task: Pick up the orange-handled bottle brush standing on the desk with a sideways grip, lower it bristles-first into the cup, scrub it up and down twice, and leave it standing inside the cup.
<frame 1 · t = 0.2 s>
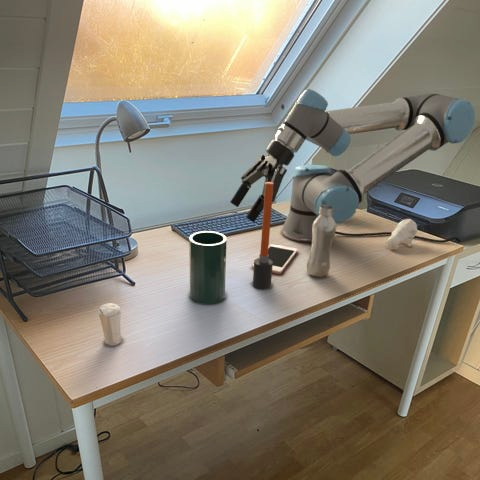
hand: (241, 212, 136), 15 cm above the table, tool tilted 35°, fingers open, 13 cm apart
brush: (261, 284, 130), on the table
white animal figurine: (397, 247, 158), on the table
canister: (322, 216, 180), on the table
plastic bottle: (317, 275, 137), on the table
cup: (207, 295, 124), on the table
milkshake: (112, 343, 104), on the table
cell phone: (275, 260, 145), on the table
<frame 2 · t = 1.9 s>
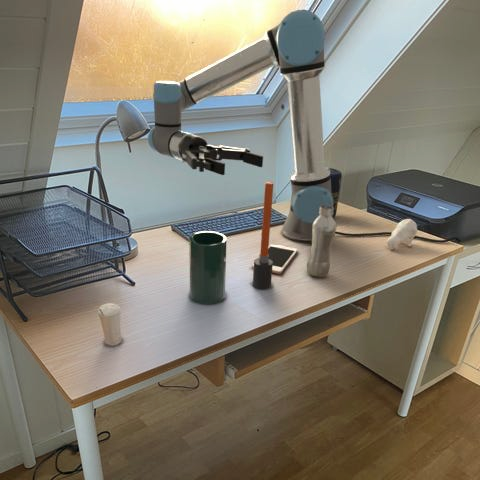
hand: (243, 165, 120), 30 cm above the table, tool horizontal, fingers open, 13 cm apart
nothing on the table moved.
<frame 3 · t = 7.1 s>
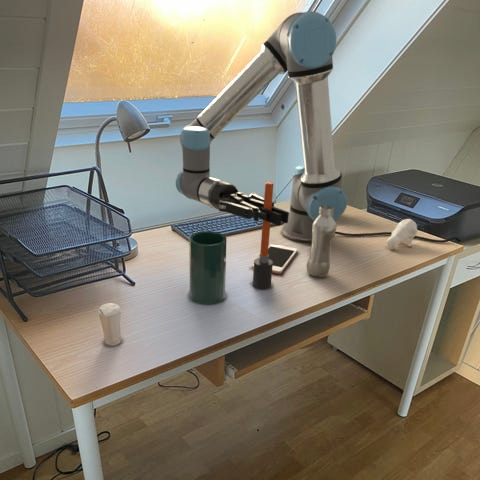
hand: (283, 218, 116), 20 cm above the table, tool horizontal, fingers closed on brush, 2 cm apart
brush: (261, 284, 130), on the table, touching gripper
everything else where it was.
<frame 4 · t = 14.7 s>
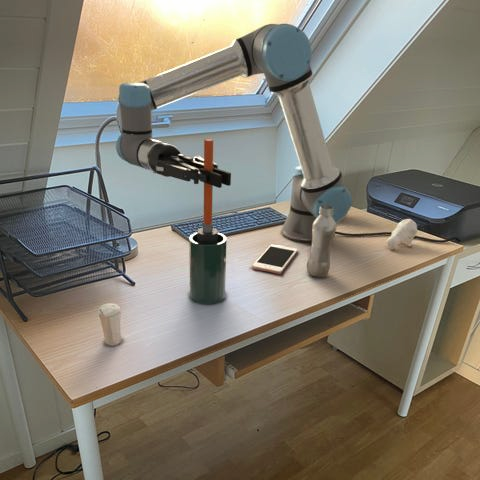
hand: (224, 180, 104), 31 cm above the table, tool horizontal, fingers closed on brush, 2 cm apart
brush: (207, 257, 118), point 11 cm above the table, touching gripper
everything else where it was.
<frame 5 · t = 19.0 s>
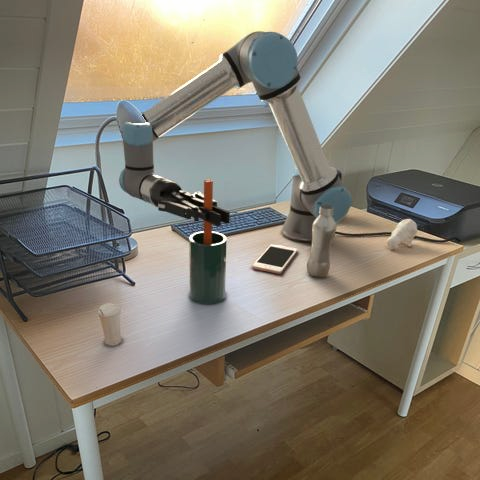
hand: (223, 219, 109), 22 cm above the table, tool horizontal, fingers closed on brush, 2 cm apart
brush: (207, 289, 123), point 2 cm above the table, touching gripper
everything else where it was.
when the fingers open (21 cm above the table, at t = 22.1 s): brush stays where it is, resting on cup.
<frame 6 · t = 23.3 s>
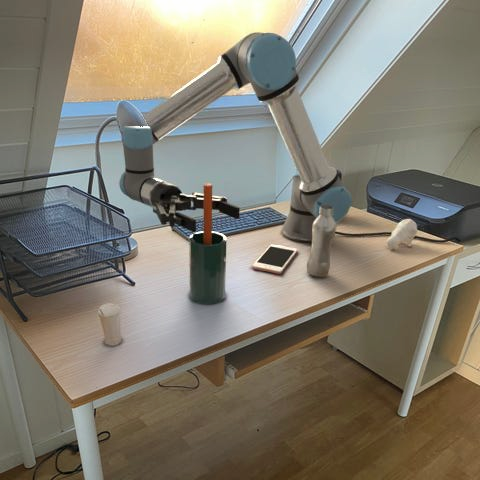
hand: (217, 219, 111), 22 cm above the table, tool horizontal, fingers open, 13 cm apart
brush: (207, 292, 123), point 1 cm above the table, touching cup
everything else where it was.
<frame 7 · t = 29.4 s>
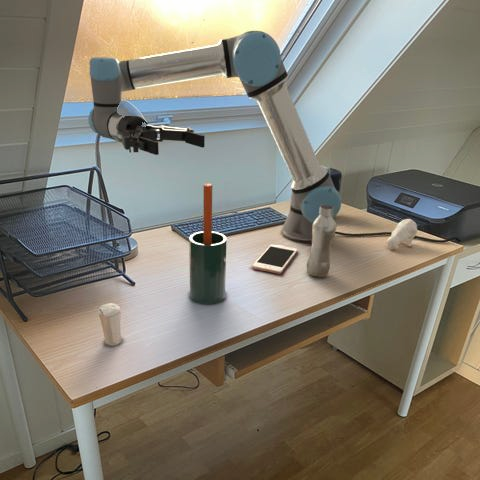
hand: (181, 144, 111), 36 cm above the table, tool horizontal, fingers open, 13 cm apart
nothing on the table moved.
at the end: brush 0.1 cm off-centre in the cup, point 1.0 cm above the cup's base; brush tilted 0°; the gripper is holding nothing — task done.
